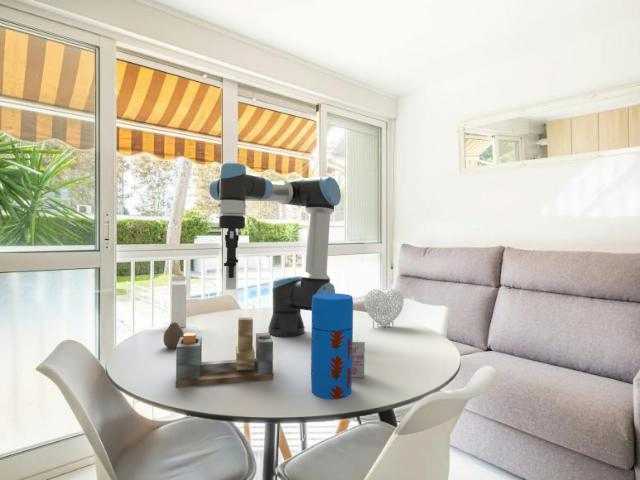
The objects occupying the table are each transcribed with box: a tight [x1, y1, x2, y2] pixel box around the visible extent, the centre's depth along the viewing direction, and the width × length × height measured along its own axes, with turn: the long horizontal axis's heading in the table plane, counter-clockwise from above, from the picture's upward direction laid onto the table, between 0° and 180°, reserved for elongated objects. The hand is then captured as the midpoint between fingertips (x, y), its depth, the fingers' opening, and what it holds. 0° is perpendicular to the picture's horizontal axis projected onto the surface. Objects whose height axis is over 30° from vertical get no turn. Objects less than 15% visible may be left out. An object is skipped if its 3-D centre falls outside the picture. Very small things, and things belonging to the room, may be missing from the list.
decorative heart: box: [363, 288, 405, 328], centre depth 172 cm, size 18×11×17 cm, turn 97°
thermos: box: [310, 292, 354, 400], centre depth 101 cm, size 11×11×25 cm
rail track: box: [175, 332, 274, 388], centre depth 111 cm, size 26×12×11 cm, turn 104°
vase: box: [163, 322, 185, 350], centre depth 137 cm, size 7×7×9 cm
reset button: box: [183, 332, 197, 344], centre depth 108 cm, size 3×3×2 cm
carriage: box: [235, 316, 256, 370], centre depth 112 cm, size 5×7×14 cm
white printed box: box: [352, 341, 366, 380], centre depth 112 cm, size 4×7×10 cm, turn 85°
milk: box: [170, 275, 187, 328], centre depth 169 cm, size 6×6×22 cm
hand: (231, 286), depth 115 cm, fingers open, 13 cm apart
